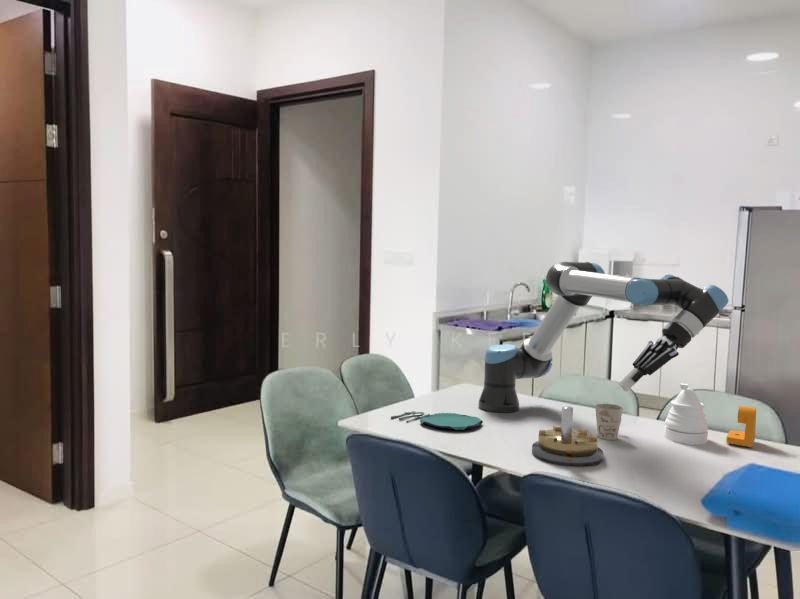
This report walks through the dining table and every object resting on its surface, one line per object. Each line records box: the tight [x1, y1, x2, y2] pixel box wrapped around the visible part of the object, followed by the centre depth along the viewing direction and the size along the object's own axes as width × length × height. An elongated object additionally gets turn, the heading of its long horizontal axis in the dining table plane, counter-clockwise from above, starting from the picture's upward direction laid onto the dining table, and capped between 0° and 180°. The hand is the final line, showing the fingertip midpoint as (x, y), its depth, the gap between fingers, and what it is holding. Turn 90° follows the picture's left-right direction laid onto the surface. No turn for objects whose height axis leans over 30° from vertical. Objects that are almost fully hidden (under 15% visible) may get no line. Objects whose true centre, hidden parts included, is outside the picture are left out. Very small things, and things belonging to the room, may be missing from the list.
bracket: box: [725, 405, 757, 448], centre depth 212 cm, size 11×7×12 cm, turn 147°
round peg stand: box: [537, 405, 599, 456], centre depth 193 cm, size 17×17×13 cm
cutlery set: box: [390, 410, 484, 431], centre depth 228 cm, size 20×30×2 cm, turn 55°
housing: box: [531, 440, 604, 468], centre depth 193 cm, size 20×20×2 cm
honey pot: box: [663, 383, 709, 445], centre depth 215 cm, size 13×13×18 cm
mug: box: [594, 403, 623, 441], centre depth 216 cm, size 8×13×10 cm, turn 137°
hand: (622, 387), depth 188 cm, fingers closed
